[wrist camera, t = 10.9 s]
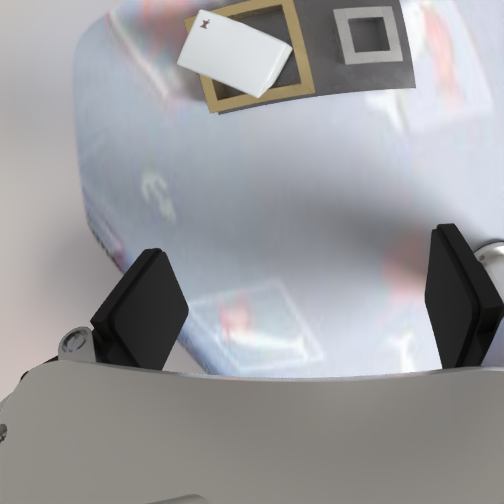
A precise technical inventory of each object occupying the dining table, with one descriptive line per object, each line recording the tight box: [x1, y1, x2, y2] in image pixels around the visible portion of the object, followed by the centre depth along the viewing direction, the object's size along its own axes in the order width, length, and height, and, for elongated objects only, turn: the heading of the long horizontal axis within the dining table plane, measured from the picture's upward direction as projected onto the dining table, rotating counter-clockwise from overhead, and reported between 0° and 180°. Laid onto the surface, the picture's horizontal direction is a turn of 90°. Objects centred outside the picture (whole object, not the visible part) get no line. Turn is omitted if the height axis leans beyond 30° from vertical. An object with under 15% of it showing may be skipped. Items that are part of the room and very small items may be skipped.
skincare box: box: [176, 9, 293, 98], centre depth 21 cm, size 6×4×12 cm
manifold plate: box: [184, 0, 416, 115], centre depth 24 cm, size 20×11×4 cm, turn 104°
